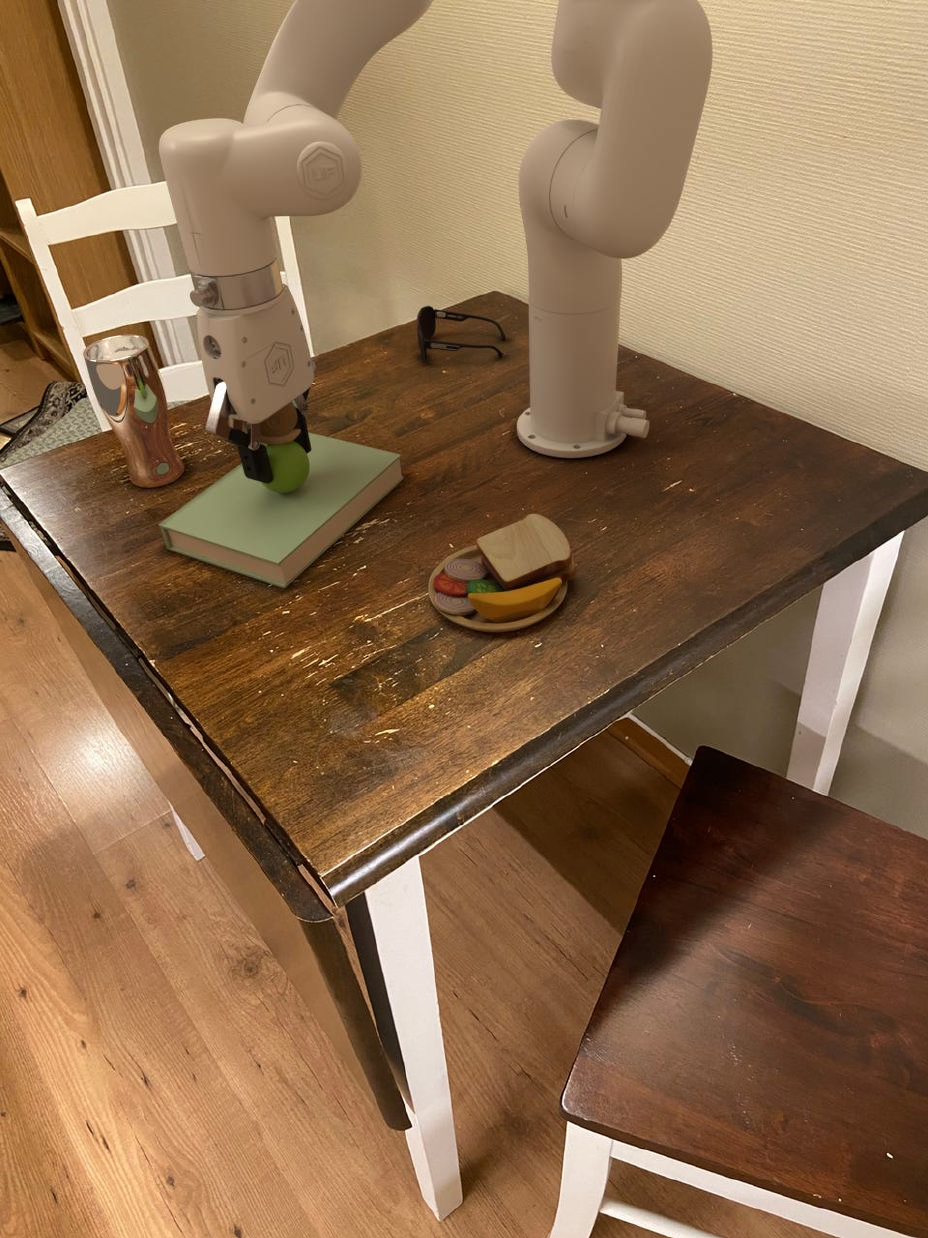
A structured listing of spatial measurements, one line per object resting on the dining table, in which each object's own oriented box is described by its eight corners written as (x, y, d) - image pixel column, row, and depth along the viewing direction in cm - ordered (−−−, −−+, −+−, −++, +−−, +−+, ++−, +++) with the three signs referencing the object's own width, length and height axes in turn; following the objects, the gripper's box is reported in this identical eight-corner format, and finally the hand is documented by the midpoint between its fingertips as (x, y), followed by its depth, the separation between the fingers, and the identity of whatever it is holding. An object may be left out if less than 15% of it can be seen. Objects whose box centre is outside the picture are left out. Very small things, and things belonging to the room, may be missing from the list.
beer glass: (172, 492, 97) (130, 362, 87) (115, 488, 98) (67, 360, 88) (198, 459, 102) (162, 333, 92) (144, 456, 103) (102, 332, 93)
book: (403, 478, 96) (400, 454, 94) (284, 588, 82) (278, 563, 80) (294, 450, 102) (289, 427, 100) (166, 549, 88) (158, 524, 86)
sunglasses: (421, 333, 125) (422, 298, 122) (505, 342, 125) (508, 307, 121) (410, 365, 117) (412, 329, 114) (500, 375, 117) (504, 339, 113)
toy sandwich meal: (415, 567, 84) (410, 526, 80) (551, 539, 86) (551, 498, 83) (447, 652, 74) (443, 610, 71) (598, 619, 76) (600, 575, 73)
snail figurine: (253, 478, 92) (226, 370, 84) (315, 472, 92) (293, 363, 84) (248, 507, 88) (219, 396, 80) (312, 500, 88) (289, 389, 80)
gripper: (203, 326, 70) (253, 517, 81) (330, 255, 81) (358, 432, 92) (135, 313, 73) (192, 499, 84) (266, 246, 84) (301, 419, 95)
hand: (278, 462), depth 88 cm, fingers closed on snail figurine, 5 cm apart
